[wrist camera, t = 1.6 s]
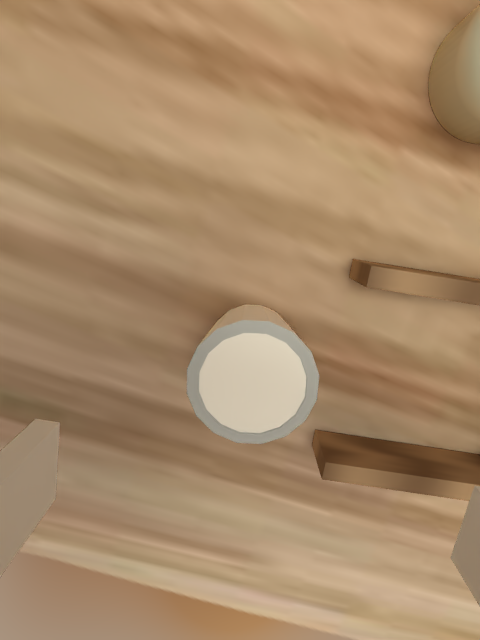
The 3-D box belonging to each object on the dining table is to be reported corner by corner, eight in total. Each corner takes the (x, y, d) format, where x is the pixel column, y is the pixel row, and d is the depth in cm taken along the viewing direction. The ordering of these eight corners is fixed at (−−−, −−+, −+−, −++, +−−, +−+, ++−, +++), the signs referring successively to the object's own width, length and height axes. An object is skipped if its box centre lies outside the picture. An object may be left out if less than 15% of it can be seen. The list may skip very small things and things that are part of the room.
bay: (311, 444, 29) (322, 479, 25) (353, 258, 26) (371, 265, 22) (491, 471, 30) (528, 509, 26) (553, 291, 26) (606, 303, 23)
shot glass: (240, 273, 27) (237, 292, 20) (322, 334, 27) (347, 372, 21) (180, 354, 28) (159, 398, 21) (261, 410, 29) (265, 468, 22)
